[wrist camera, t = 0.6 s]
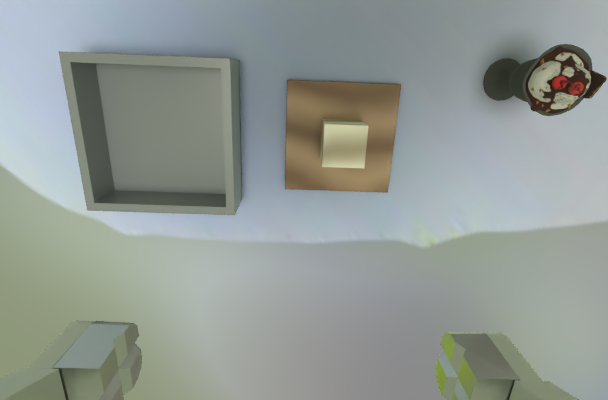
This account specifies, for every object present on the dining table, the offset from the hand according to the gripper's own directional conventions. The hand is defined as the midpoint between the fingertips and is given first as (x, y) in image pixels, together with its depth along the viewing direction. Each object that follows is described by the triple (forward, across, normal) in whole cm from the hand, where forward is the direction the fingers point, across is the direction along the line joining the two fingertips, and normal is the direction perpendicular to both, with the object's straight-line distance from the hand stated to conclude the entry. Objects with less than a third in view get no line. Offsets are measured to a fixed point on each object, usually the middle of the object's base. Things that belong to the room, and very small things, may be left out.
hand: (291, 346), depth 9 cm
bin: (+39, +17, +1) cm, 42 cm away
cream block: (+38, -5, +1) cm, 38 cm away
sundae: (+39, -25, -7) cm, 47 cm away
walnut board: (+39, -5, +1) cm, 39 cm away
